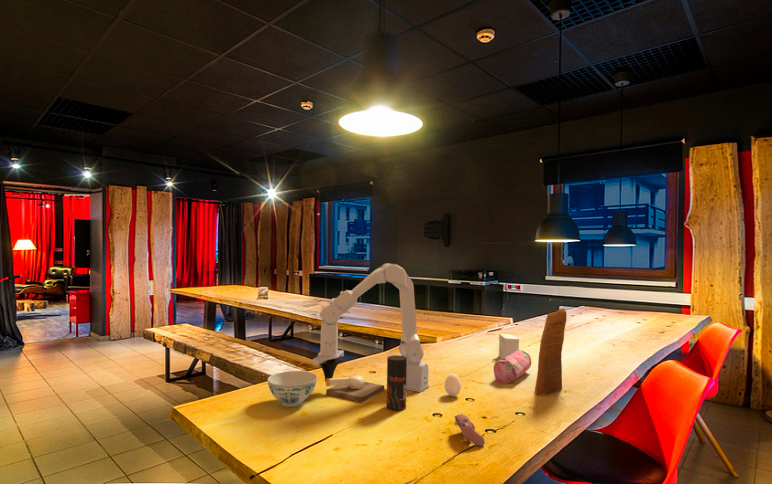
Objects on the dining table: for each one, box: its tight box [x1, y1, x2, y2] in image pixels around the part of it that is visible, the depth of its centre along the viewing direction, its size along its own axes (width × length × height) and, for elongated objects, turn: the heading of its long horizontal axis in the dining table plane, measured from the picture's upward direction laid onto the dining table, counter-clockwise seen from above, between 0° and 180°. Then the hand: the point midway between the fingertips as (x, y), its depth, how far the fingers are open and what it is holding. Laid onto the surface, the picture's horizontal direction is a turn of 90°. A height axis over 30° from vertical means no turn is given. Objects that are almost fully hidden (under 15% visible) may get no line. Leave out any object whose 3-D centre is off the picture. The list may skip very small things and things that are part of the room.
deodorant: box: [386, 355, 407, 412], centre depth 131 cm, size 6×6×15 cm
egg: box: [444, 373, 462, 397], centre depth 142 cm, size 5×5×7 cm
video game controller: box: [453, 412, 486, 447], centre depth 110 cm, size 10×5×7 cm, turn 5°
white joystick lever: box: [325, 375, 365, 389], centre depth 143 cm, size 12×5×3 cm, turn 104°
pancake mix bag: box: [534, 308, 567, 396], centre depth 150 cm, size 7×19×28 cm, turn 133°
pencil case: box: [493, 349, 532, 384], centre depth 165 cm, size 21×9×9 cm, turn 144°
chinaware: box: [267, 370, 318, 408], centre depth 133 cm, size 15×15×8 cm
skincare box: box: [498, 333, 520, 360], centre depth 192 cm, size 10×6×10 cm, turn 179°
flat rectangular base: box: [325, 381, 385, 403], centre depth 144 cm, size 14×14×2 cm
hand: (328, 382), depth 144 cm, fingers closed
